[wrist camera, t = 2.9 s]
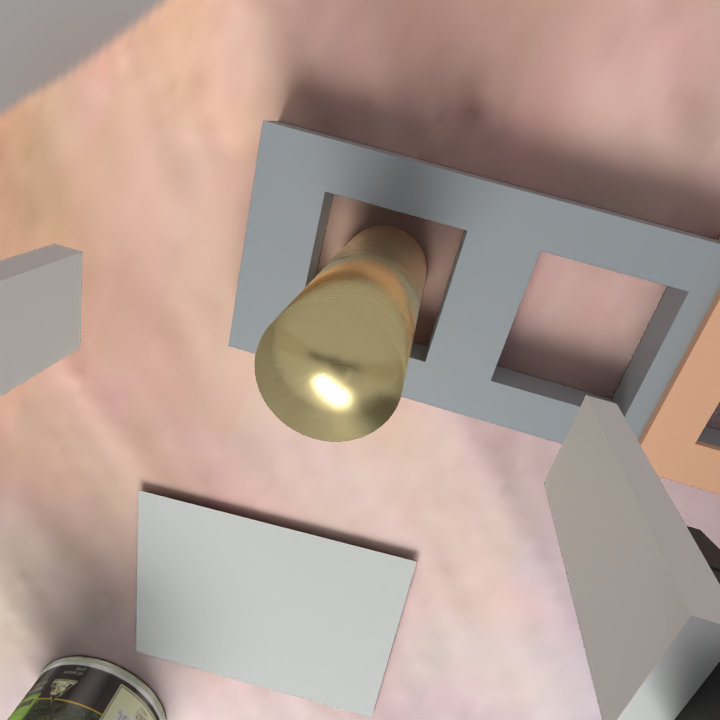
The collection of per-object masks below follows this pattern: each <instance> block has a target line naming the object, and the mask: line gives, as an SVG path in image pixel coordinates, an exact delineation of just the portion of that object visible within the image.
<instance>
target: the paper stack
mask: <svg viewBox="0 0 720 720" xmlns="http://www.w3.org/2000/svg"><path fill="white" fill-rule="evenodd" d="M416 562H417V561H413V560H409V559H405V558H401V557H397V556H394V555H390V554H386V553H382V552H378V551H374V550H370V549H366V548H362V547H359V546H355V545H351V544H347V543H343V542H339V541H335V540H331V539H327V538H323V537H320V536H316V535H312V534H308V533H304V532H300V531H296V530H292V529H288V528H285V527H281V526H277V525H273V524H269V523H265V522H261V521H257V520H253V519H249V518H246V517H242V516H238V515H234V514H230V513H226V512H222V511H218V510H214V509H211V508H207V507H203V506H199V505H195V504H191V503H187V502H183V501H179V500H175V499H172V498H168V497H164V496H160V495H156V494H152V493H148V492H144V491H140V490H138V542H137V610H136V652H139V653H143V654H146V655H150V656H153V657H157V658H160V659H164V660H167V661H171V662H175V663H178V664H182V665H185V666H189V667H192V668H196V669H199V670H203V671H207V672H210V673H214V674H217V675H221V676H224V677H228V678H232V679H235V680H239V681H242V682H246V683H249V684H253V685H256V686H260V687H264V688H267V689H271V690H274V691H278V692H281V693H285V694H288V695H292V696H296V697H299V698H303V699H306V700H310V701H313V702H317V703H320V704H324V705H328V706H331V707H335V708H338V709H342V710H345V711H349V712H353V713H356V714H360V715H363V716H367V717H370V718H372V714H373V711H374V707H375V704H376V700H377V697H378V693H379V690H380V686H381V683H382V680H383V676H384V673H385V669H386V666H387V662H388V659H389V655H390V652H391V649H392V645H393V642H394V638H395V635H396V631H397V628H398V624H399V621H400V618H401V614H402V611H403V607H404V604H405V600H406V597H407V593H408V590H409V587H410V583H411V580H412V576H413V573H414V569H415V566H416Z"/></svg>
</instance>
